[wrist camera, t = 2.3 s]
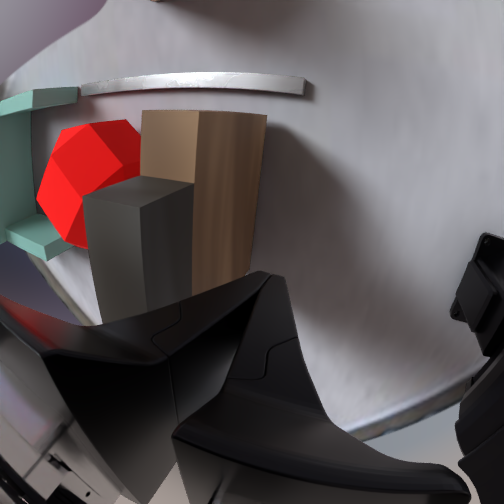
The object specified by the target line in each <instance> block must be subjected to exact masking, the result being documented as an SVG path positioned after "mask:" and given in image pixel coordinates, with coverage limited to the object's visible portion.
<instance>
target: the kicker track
mask: <svg viewBox="0 0 504 504" xmlns="http://www.w3.org/2000/svg"><path fill="white" fill-rule="evenodd" d="M305 86H306V79H305V78H302V77H293V76H283V75H272V74H257V73H234V72H194V73H171V74H157V75H146V76H136V77H128V78H120V79H113V80H106V81H100V82H94V83H89V84H84V85H82V86H81V96H89V95H97V94H104V93H113V92H123V91H134V90H148V89H168V88H222V89H243V90H257V91H269V92H279V93H288V94H296V95H303V96H304V94H305Z"/></svg>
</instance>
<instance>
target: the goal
mask: <svg viewBox="0 0 504 504" xmlns="http://www.w3.org/2000/svg"><path fill="white" fill-rule="evenodd" d="M77 94H78V87H61V88H46V89H35V90H30V91H27V92H24V93H21V94H19V95H16V96H13V97H10V98H8V99H5V100H2V101H0V244H2V243H3V242H5V241H9V242H10V243H13V244H14V245H16V246H18V247H20V248H22V249H24V250H25V251H27V252H29V253H31V254H33V255H35V256H37V257H39V258H41V259H43V260H45V261H49V260H50V259H52V258H54V257H55V256H57V255H59V254H61V253H62V252H64V251H66V250H68V249H69V248H71V247H73V246H74V245H72V244H70V243H67V242H65V241H64V240H63V238H62V237H61V236H60V234H59V233H58V231H57V230H56V228H55V227H54V226H53V224H52V223H51V221H50V220H49V218H48V217H47V216H45V215H42V214H39V213H37V209H36V201H35V193H34V183H33V172H32V156H31V111H33V110H38V109H43V108H48V107H54V106H59V105H65V104H72V103H77Z"/></svg>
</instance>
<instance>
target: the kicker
mask: <svg viewBox="0 0 504 504" xmlns="http://www.w3.org/2000/svg"><path fill="white" fill-rule="evenodd" d="M266 121H267V115H262V114H252V113H241V112H229V111H209V110H142V124H141V154H140V176H137V177H134V178H131V179H128V180H125V181H122V182H119V183H116V184H113V185H110V186H108V187H105V188H102V189H99V190H97V191H94V192H91V193H89V194H86V195H84V196H82V199H83V210H84V220H85V229H86V237H87V244H88V251H89V258H90V264H91V270H92V275H93V281H94V286H95V291H96V296H97V301H98V305H99V310H100V314H101V318H102V322H103V324H105V323H109V322H113V321H116V320H120V319H124V318H128V317H132V316H135V315H139V314H143V313H146V312H149V311H153V310H156V309H159V308H162V307H165V306H167V305H170V304H173V303H175V302H179V301H181V300H184V299H186V298H189V297H192V296H194V295H197V294H199V293H202V292H205V291H207V290H210V289H213V288H215V287H218V286H220V285H223V284H226V283H228V282H231V281H233V280H236V279H238V278H241V277H244V276H245V275H246V273H247V272H248V270H249V269H250V260H251V251H252V242H253V234H254V225H255V216H256V208H257V199H258V190H259V182H260V173H261V164H262V156H263V147H264V138H265V130H266Z"/></svg>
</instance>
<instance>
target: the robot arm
mask: <svg viewBox="0 0 504 504" xmlns="http://www.w3.org/2000/svg"><path fill="white" fill-rule="evenodd" d="M487 238H488V242H487V243H484V242H485V240H486V239H487ZM455 311H458V312H457V313H455ZM454 313H455V314H454ZM450 316H451V318H452V319H454V320H459V321H463V322H467V323H468V325H469V327H470V330H471V332H474V333H475V335H476V338H477V340H478V343H479V346H480V348H481V351H482V354H483V355H484V356H487V357H490V359H489V360H488V361H487V363H486V364H485V365H484V366H483V367H482V368H481V370H480V371H479V372H478V373H477V374H476V375H475V377H472V378H471V379H470V380H469V381H468V382H467V383H466V390H465V394H464V396H463V399H462V401H461V403H460V410H459V420H457V421H456V423H455V431H456V436H457V441H458V444H459V446H460V449H461V452H462V454H463V456H464V457H463V458H462V459H460V460H459V461H458V466H459V467H460V468H461V469H462V470H463V471H464V472H465V473H466V474H467V475H468V476H469V478H470V480H471V481H472V483H473V484H474V486H475V488H476V490H477V493H478V496H479V499H480V503H481V504H504V238H501V237H499V236H496V235H493V234H490V233H486V232H485V233H483V234H482V235H481V236H480V238H479V241H478V244H477V247H476V250H475V252H474V255H473V258H472V260H471V261H470V262H469V263H468V266H467V268H466V271H465V273H464V275H463V278H462V280H461V283H460V285H459V287H458V289H457V292H456V298H455V300H454V302H453V304H452V306H451V309H450ZM176 462H177V463H178V467H179V470H180V474H181V477H182V480H183V484H184V487H185V490H186V493H187V496H188V499H189V503H190V504H469V502H470V500H471V494H470V491H469V488H468V486H467V484H466V483H465V482H464V480H463V479H462V478H461V477H460V476H459V475H458V474H456V473H454V472H453V471H452V470H450V469H449V468H447V467H446V466H443V465H440V464H433V463H416V462H407V461H402V460H398V459H395V458H392V457H389V456H387V455H384V454H382V453H380V452H378V451H377V450H375V449H373V448H372V447H370V446H368V445H367V444H365V443H363V442H362V441H360V440H358V439H357V438H355V437H353V436H352V435H350V434H349V433H347V432H345V431H344V430H342V429H341V428H339V427H338V426H336V425H335V424H334V423H333V422H332V421H331V420H330V419H329V417H328V416H327V414H326V412H325V410H324V408H323V406H322V403H321V401H320V398H319V396H318V394H317V391H316V389H315V386H314V384H313V382H312V379H311V377H310V374H309V372H308V369H307V366H306V364H305V361H304V358H303V354H302V350H301V347H300V342H299V339H298V333H297V329H296V324H295V320H294V315H293V311H292V307H291V302H290V298H289V293H288V289H287V285H286V280H285V278H284V277H283V276H279V275H275V274H273V275H271V274H270V273H267V272H263V271H256V272H254V273H251V274H249V275H246V276H244V277H241V278H238V279H236V280H233V281H231V282H228V283H226V284H223V285H220V286H218V287H215V288H213V289H210V290H207V291H205V292H202V293H199V294H197V295H194V296H192V297H189V298H186V299H184V300H181V301H179V302H175V303H173V304H170V305H167V306H165V307H162V308H159V309H156V310H153V311H149V312H146V313H143V314H139V315H135V316H132V317H128V318H124V319H120V320H116V321H113V322H109V323H105V324H101V325H96V326H79V325H74V324H71V323H68V322H65V321H62V320H60V319H57V318H54V317H51V316H48V315H46V314H43V313H41V312H38V311H35V310H33V309H30V308H28V307H25V306H23V305H21V304H18V303H16V302H14V301H12V300H10V299H8V298H6V297H4V296H2V295H0V504H27V503H26V502H28V503H29V504H114V503H115V502H116V500H117V499H118V497H119V496H120V494H121V495H123V496H124V497H126V498H128V499H130V500H131V501H133V502H135V503H137V504H148V503H149V501H150V500H151V498H152V497H153V496H154V494H155V493H156V491H157V490H158V488H159V487H160V485H161V484H162V482H163V481H164V479H165V478H166V477H167V475H168V474H169V472H170V471H171V469H172V468H173V466H174V465H175V463H176ZM22 498H23V499H25V501H26V502H25V501H23V500H22Z"/></svg>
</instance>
